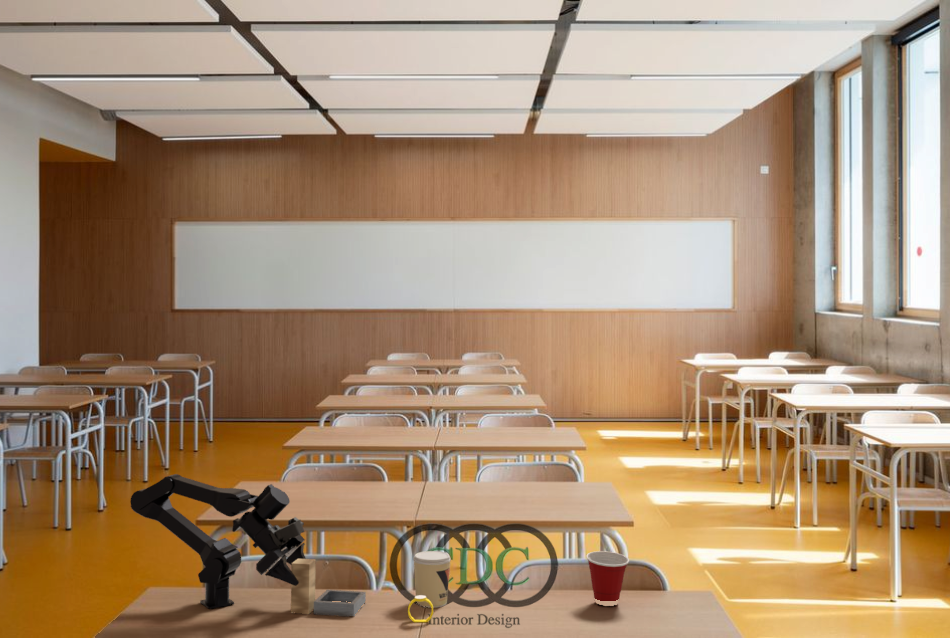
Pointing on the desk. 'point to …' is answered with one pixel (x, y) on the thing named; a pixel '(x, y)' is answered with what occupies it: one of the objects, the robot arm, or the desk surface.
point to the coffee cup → (432, 577)
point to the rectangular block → (303, 586)
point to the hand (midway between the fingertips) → (304, 579)
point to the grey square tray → (339, 603)
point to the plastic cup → (607, 574)
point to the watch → (419, 599)
